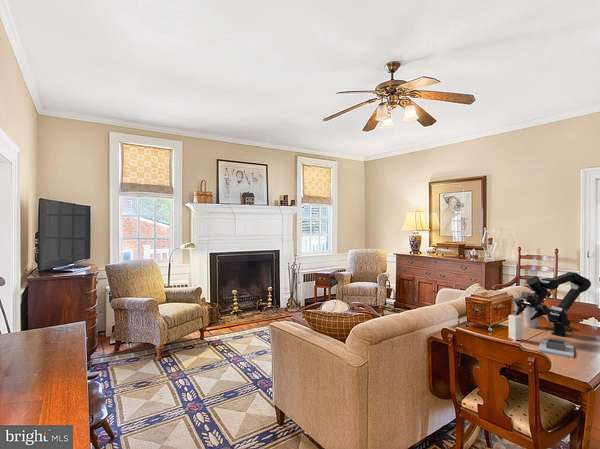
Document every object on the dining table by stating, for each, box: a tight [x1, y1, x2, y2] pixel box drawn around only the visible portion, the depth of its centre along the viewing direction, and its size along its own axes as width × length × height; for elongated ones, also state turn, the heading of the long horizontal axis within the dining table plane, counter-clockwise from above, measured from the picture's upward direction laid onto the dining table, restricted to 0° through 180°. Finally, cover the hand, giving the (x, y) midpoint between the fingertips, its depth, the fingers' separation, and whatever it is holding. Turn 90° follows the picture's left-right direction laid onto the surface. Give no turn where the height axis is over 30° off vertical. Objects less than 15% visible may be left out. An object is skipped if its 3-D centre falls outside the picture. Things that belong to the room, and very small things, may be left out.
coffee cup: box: [522, 300, 539, 329], centre depth 216 cm, size 10×10×15 cm
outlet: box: [537, 337, 575, 359], centre depth 177 cm, size 18×14×4 cm
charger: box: [508, 314, 523, 341], centre depth 192 cm, size 4×4×13 cm
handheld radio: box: [545, 315, 572, 332], centre depth 217 cm, size 7×3×25 cm
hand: (523, 317), depth 194 cm, fingers open, 9 cm apart
